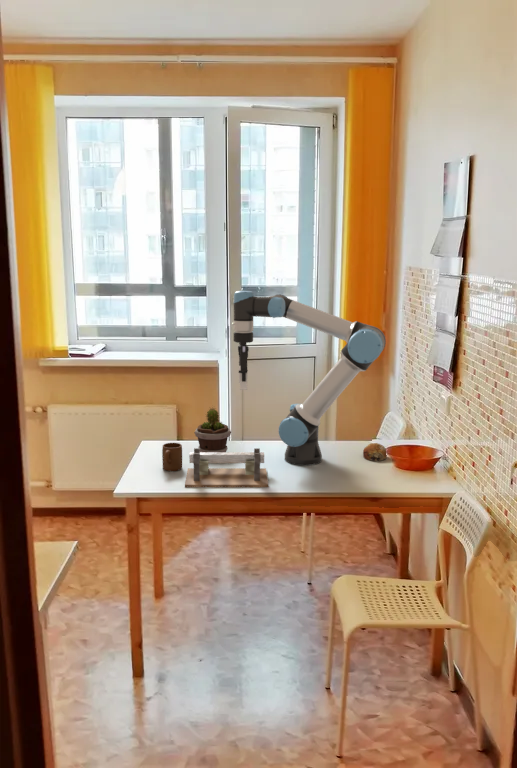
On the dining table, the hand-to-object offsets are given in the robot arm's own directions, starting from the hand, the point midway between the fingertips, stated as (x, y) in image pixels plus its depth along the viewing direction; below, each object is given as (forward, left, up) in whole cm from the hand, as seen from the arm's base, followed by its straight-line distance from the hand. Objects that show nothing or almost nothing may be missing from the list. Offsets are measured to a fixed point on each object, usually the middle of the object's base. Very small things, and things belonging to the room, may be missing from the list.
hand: (242, 386), depth 257 cm
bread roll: (-55, -8, -32) cm, 64 cm away
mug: (+28, +8, -32) cm, 43 cm away
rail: (+6, +13, -27) cm, 30 cm away
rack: (+6, +18, -32) cm, 37 cm away
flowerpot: (+12, -13, -32) cm, 36 cm away
